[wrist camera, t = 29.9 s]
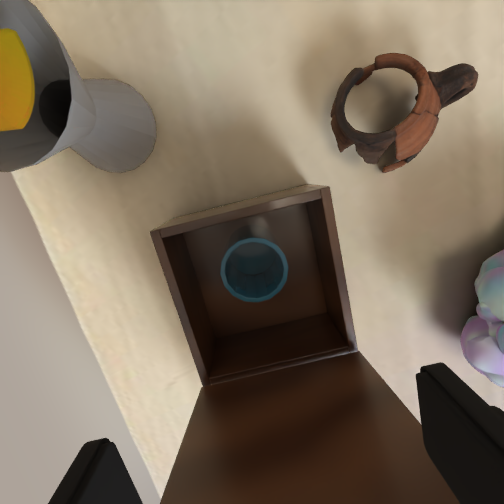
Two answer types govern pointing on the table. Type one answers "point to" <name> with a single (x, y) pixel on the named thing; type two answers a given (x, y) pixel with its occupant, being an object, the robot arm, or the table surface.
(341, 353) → the chest
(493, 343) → the iridescent bubble cluster
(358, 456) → the lid
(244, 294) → the cup
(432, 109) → the pottery mug
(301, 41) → the table surface
